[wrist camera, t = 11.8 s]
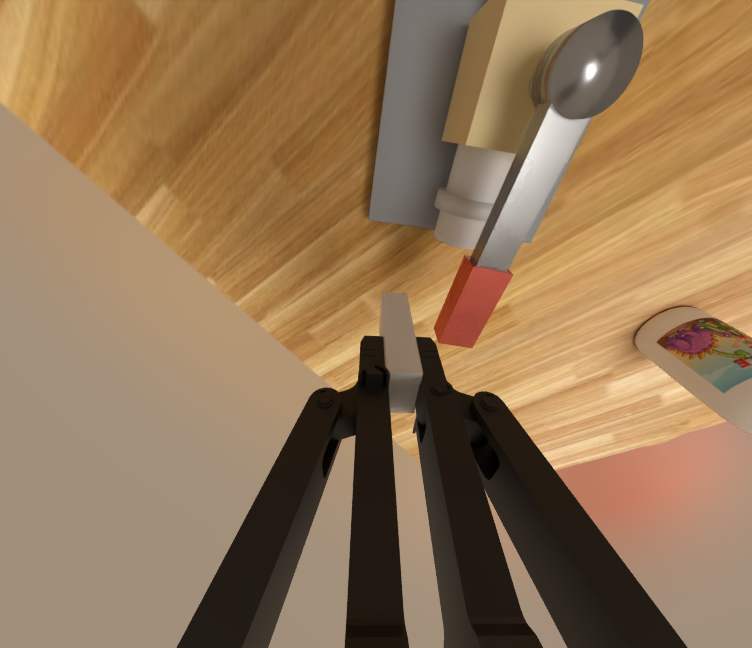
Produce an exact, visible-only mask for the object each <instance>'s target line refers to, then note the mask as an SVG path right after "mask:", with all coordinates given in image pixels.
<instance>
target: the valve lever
mask: <svg viewBox="0 0 752 648" xmlns="http://www.w3.org/2000/svg"><path fill="white" fill-rule="evenodd" d="M642 49H643V31H642V27H641V24H640V22H639V20H638V19H637V17H636V16H635V15H634V14H632V13H631V12H629V11H626V10H621V9H616V10H610V11H607V12H604V13H602V14H600V15H598V16H596V17H594V18H592V19H590V20H588V21H586V22H584V23H582V24H580V25H578V26H576V27H574V28H572V29H570V30H568V31H566V32H564V33H563V34H561V35H560V36H559V37H558V38H556V39H555V40H554V41H553V42H552V43H551V45H550V46H549V47H548V48H547V50H546V51H545V53H544V54H543V56H542V57H541V59H540V61H539V63H538V65H537V68H536V71H535V73H534V77H533V82H532V101H533V104H534V107H535V109H536V110H535V112H534V114H533V117H532V119H531V121H530V124H529V126H528V128H527V130H526V133H525V135H524V137H523V139H522V142H521V144H520V146H519V149H518V151H517V153H516V155H515V158H514V160H513V162H512V164H511V167H510V169H509V171H508V173H507V176H506V178H505V180H504V183H503V185H502V187H501V189H500V192H499V194H498V196H497V198H496V201H495V203H494V205H493V208H492V210H491V212H490V214H489V217H488V219H487V221H486V223H485V226H484V228H483V230H482V233H481V235H480V237H479V239H478V242H477V244H476V246H475V248H474V251H473V253H472V255H471V256H466V255H464V258H463V260H462V263H461V265H460V267H459V270H458V272H457V274H456V277H455V279H454V281H453V284H452V286H451V288H450V291H449V293H448V296H447V298H446V300H445V303H444V305H443V307H442V310H441V312H440V314H439V317H438V319H437V321H436V324H435V326H434V330H435V333H436V336H437V339H438V343H442V344H448V345H455V346H461V347H468V348H473V346H474V344H475V342H476V340H477V339H478V337H479V335H480V333H481V331H482V330H483V328H484V326H485V324H486V323H487V321H488V319H489V317H490V315H491V314H492V312H493V310H494V308H495V306H496V305H497V303H498V301H499V299H500V298H501V296H502V294H503V292H504V290H505V289H506V287H507V285H508V283H509V282H510V280H511V278H512V276H513V274H512V273H511V272H510V271H509V270H508V268H509V267H510V265H511V263H512V261H513V259H514V257H515V255H516V254H517V252H518V250H519V248H520V246H521V244H522V243H523V241H524V239H525V237H526V235H527V233H528V231H529V230H530V228H531V226H532V224H533V222H534V220H535V218H536V217H537V215H538V213H539V211H540V209H541V207H542V206H543V204H544V202H545V200H546V198H547V196H548V194H549V193H550V191H551V189H552V187H553V185H554V183H555V181H556V180H557V178H558V176H559V174H560V172H561V170H562V169H563V167H564V165H565V163H566V161H567V159H568V157H569V156H570V154H571V152H572V150H573V148H574V146H575V145H576V143H577V141H578V139H579V137H580V135H581V133H582V132H583V130H584V128H585V126H586V124H587V122H588V120H589V119H590V117H593V116H595V115H597V114H599V113H601V112H603V111H604V110H605V109H607V108H608V107H609V106H611V105H612V104H613V103H614V102H615V101H616V100H617V99H618V98H619V97H620V96H621V94H622V93H623V92H624V91H625V89H626V88H627V86H628V85H629V83H630V82H631V80H632V78H633V76H634V74H635V72H636V70H637V67H638V65H639V62H640V59H641V54H642Z"/></svg>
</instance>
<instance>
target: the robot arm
mask: <svg viewBox="0 0 752 648" xmlns="http://www.w3.org/2000/svg"><path fill="white" fill-rule="evenodd" d="M379 331H380V336H364V338H363V339H362V341H361V345H360V364H359V374H358V381H357V383H356V384H355V386H354V387H352V388H350V389H348V390H346V391H342V392H337V391H336V390H334V389H332V388H322V389H318V390H316V391H315V392H313V394H312V395H311V396H310V398H309V399H308V401H307V403H306V405H305V407H304V409H303V411H302V413H301V414H300V416H299V418H298V420H297V422H296V424H295V426H294V428H293V429H292V431H291V433H290V435H289V437H288V439H287V441H286V443H285V445H284V446H283V448H282V450H281V452H280V454H279V456H278V458H277V460H276V461H275V464H274V465H273V467H272V469H271V471H270V473H269V475H268V477H267V478H266V481H265V482H264V484H263V486H262V488H261V490H260V492H259V494H258V495H257V497H256V499H255V501H254V503H253V505H252V507H251V509H250V510H249V512H248V514H247V516H246V518H245V520H244V522H243V524H242V526H241V527H240V529H239V531H238V533H237V535H236V537H235V539H234V541H233V543H232V544H231V547H230V548H229V550H228V552H227V554H226V556H225V558H224V560H223V561H222V563H221V565H220V567H219V569H218V571H217V573H216V575H215V577H214V578H213V580H212V582H211V584H210V586H209V588H208V590H207V592H206V593H205V595H204V597H203V599H202V601H201V603H200V605H199V607H198V608H197V610H196V612H195V614H194V616H193V618H192V620H191V622H190V624H189V625H188V627H187V629H186V631H185V633H184V635H183V637H182V639H181V641H180V642H179V644H178V646H177V648H268V646H269V643H270V640H271V638H272V635H273V632H274V629H275V626H276V623H277V621H278V618H279V615H280V612H281V609H282V607H283V604H284V601H285V598H286V595H287V593H288V590H289V587H290V584H291V581H292V579H293V576H294V573H295V570H296V567H297V564H298V561H299V559H300V556H301V553H302V550H303V547H304V545H305V541H306V539H307V536H308V533H309V530H310V528H311V525H312V522H313V519H314V516H315V514H316V511H317V508H318V505H319V502H320V499H321V497H322V494H323V491H324V488H325V485H326V483H327V480H328V477H329V474H330V471H331V468H332V466H333V463H334V460H335V457H336V454H337V452H338V449H339V446H340V443H341V440H342V439H344V438H347V437H350V436H354V435H356V438H355V439H356V441H355V459H354V480H353V499H352V520H351V539H350V559H349V580H348V602H347V619H346V635H345V648H409V644H408V637H407V632H406V627H405V621H404V611H403V597H402V584H401V583H402V582H401V566H400V551H399V536H398V521H397V506H396V491H395V478H394V477H395V476H394V462H393V446H392V431H391V415H390V412H394V413H414V410H415V408H416V419H415V424H414V428H413V433H415V432H416V433H417V441H418V448H419V455H420V462H421V469H422V476H423V483H424V490H425V497H426V505H427V512H428V519H429V526H430V533H431V540H432V547H433V554H434V561H435V568H436V576H437V583H438V590H439V597H440V604H441V611H442V618H443V625H444V648H543V647H542V645H541V643H540V641H539V639H538V637H537V636H536V634H535V633H534V632H533V631H532V629H531V628H530V627H529V626H528V624H527V623H526V621H525V619H524V617H523V614H522V611H521V608H520V605H519V602H518V598H517V595H516V592H515V589H514V585H513V582H512V579H511V576H510V572H509V569H508V566H507V563H506V559H505V556H504V553H503V549H502V546H501V543H500V539H499V536H498V533H497V529H496V526H495V523H494V520H493V516H492V513H491V510H490V506H489V504H488V500H487V497H486V493H487V495H488V497H489V498H490V500H491V502H492V504H493V506H494V508H495V510H496V512H497V514H498V516H499V518H500V519H501V521H502V523H503V525H504V527H505V529H506V531H507V533H508V535H509V537H510V538H511V540H512V542H513V544H514V546H515V548H516V550H517V552H518V554H519V556H520V558H521V560H522V561H523V563H524V565H525V567H526V569H527V571H528V573H529V575H530V577H531V578H532V581H533V583H534V584H535V586H536V588H537V590H538V592H539V594H540V596H541V598H542V600H543V601H544V603H545V605H546V607H547V609H548V611H549V613H550V615H551V617H552V619H553V621H554V623H555V625H556V626H557V628H558V630H559V632H560V634H561V636H562V638H563V640H564V642H565V644H566V645H567V648H687V646H686V645H685V644H684V642H683V641H682V640H681V638H680V637H679V636H678V634H677V633H676V632H675V630H674V629H673V628H672V626H671V625H670V624H669V622H668V621H667V620H666V618H665V617H664V616H663V614H662V613H661V612H660V610H659V609H658V608H657V606H656V605H655V604H654V602H653V601H652V600H651V598H650V597H649V596H648V594H647V593H646V592H645V590H644V589H643V588H642V586H641V585H640V584H639V582H638V581H637V580H636V578H635V577H634V576H633V574H632V573H631V572H630V570H629V569H628V568H627V566H626V565H625V564H624V562H623V561H622V559H621V558H620V557H619V555H618V554H617V553H616V551H615V550H614V549H613V547H612V546H611V545H610V544H609V542H608V541H607V539H606V538H605V537H604V535H603V534H602V533H601V531H600V530H599V529H598V527H597V526H596V525H595V523H594V522H593V521H592V519H591V518H590V517H589V516H588V514H587V513H586V511H585V510H584V509H583V507H582V506H581V505H580V503H579V502H578V501H577V500H576V498H575V497H574V495H573V494H572V493H571V491H570V490H569V489H568V487H567V486H566V485H565V484H564V482H563V481H562V479H561V478H560V477H559V475H558V474H557V473H556V471H555V470H554V469H553V467H552V466H551V465H550V463H549V462H548V461H547V459H546V458H545V457H544V455H543V454H542V453H541V451H540V450H539V449H538V447H537V446H536V445H535V443H534V442H533V441H532V439H531V438H530V437H529V435H528V434H527V433H526V431H525V430H524V429H523V427H522V426H521V425H520V423H519V422H518V421H517V419H516V418H515V417H514V415H513V414H512V413H511V411H510V410H509V409H508V407H507V406H506V405H505V403H504V402H503V401H502V400H501V399H500V398H499V397H498V396H496V395H495V394H493V393H490V392H478V393H476V394H475V396H474V397H473V396H470V395H467V394H463V393H460V392H458V391H456V390H454V389H453V387H452V385H451V384H450V383H449V382H447V380H446V378H445V374H444V371H443V367H442V364H441V360H440V358H439V353H438V350H437V347H436V344H435V343H434V341H433V340H432V339H431V338H429V337H415V332H414V327H413V322H412V317H411V312H410V307H409V302H408V297H407V293H388V292H382V302H381V314H380V326H379ZM484 489H485V490H484ZM485 491H486V493H485Z"/></svg>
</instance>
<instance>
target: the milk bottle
mask: <svg viewBox="0 0 752 648" xmlns="http://www.w3.org/2000/svg"><path fill="white" fill-rule="evenodd" d="M635 344H636V347H637V349H638V350H639V351H641V352H642V353H643V354H644V355H645V356H646V357H648V358H649V359H650V360H651V361H652V362H654V363H655V364H656V365H657V366H658V367H660V368H661V369H662V370H663V371H665V372H666V373H667V374H668V375H669V376H671V377H672V378H673V379H674V380H676V381H677V382H678V383H679V384H680V385H682V386H683V387H684V388H685V389H687V390H688V391H689V392H690V393H692V394H693V395H694V396H695V397H696V398H698V399H699V400H700V401H701V402H703V403H704V404H705V405H706V406H708V407H709V408H710V409H712V410H713V411H714V412H716V413H717V414H718V415H720V416H721V417H722V418H723V419H725V420H726V421H728V422H730V423H731V424H732V425H734V426H736V427H738V428H739V429H741V430H743V431H745V432H747V433H749V434H751V435H752V338H751V337H750V336H748V335H746V334H744V333H742V332H740V331H739V330H737V329H735V328H733V327H731V326H730V325H728V324H726V323H724V322H722V321H720V320H719V319H717V318H715V317H713V316H711V315H709V314H708V313H706V312H704V311H702V310H700V309H697V308H693V307H677V308H673V309H670V310H667V311H664V312H662V313H660V314H658V315H656V316H655V317H653V318H652V319H650V320H649V321H648V322H646V323H645V324H644V325H643V326H642V327H641V328H640V330H639V331H638V333H637V335H636V337H635Z"/></svg>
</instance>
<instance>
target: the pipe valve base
mask: <svg viewBox="0 0 752 648" xmlns="http://www.w3.org/2000/svg"><path fill="white" fill-rule="evenodd" d="M649 1H650V0H395V3H394V12H393V20H392V28H391V36H390V44H389V52H388V60H387V68H386V77H385V85H384V93H383V101H382V109H381V117H380V125H379V133H378V142H377V150H376V158H375V166H374V174H373V182H372V190H371V198H370V207H369V220H372V221H379V222H386V223H393V224H400V225H407V226H414V227H421V228H428V229H434V230H435V232H434V237H435V238H436V239H437V240H439V241H441V242H443V243H445V244H448V245H451V246H454V247H458V248H463V249H473V250H474V248H475V246H476V244H477V242H478V239H479V237H480V235H481V233H482V230H483V228H484V226H485V223H486V221H487V219H488V217H489V214H490V212H491V210H492V208H493V205H494V203H495V201H496V198H497V196H498V194H499V192H500V189H501V187H502V185H503V183H504V180H505V178H506V176H507V173H508V171H509V169H510V167H511V164H512V162H513V160H514V158H515V155H516V153H517V151H518V149H519V146H520V144H521V142H522V139H523V137H524V135H525V133H526V130H527V128H528V126H529V124H530V121H531V119H532V117H533V114H534V112H535V110H536V109H535V107H534V104H533V101H532V82H533V77H534V73H535V71H536V68H537V65H538V63H539V61H540V59H541V57H542V56H543V54H544V53H545V51H546V50H547V48H548V47H549V46H550V45H551V43H552V42H553V41H554V40H555V39H556V38H558V37H559V36H560V35H561V34H563V33H564V32H566V31H568V30H570V29H572V28H574V27H576V26H578V25H580V24H582V23H584V22H586V21H588V20H590V19H592V18H594V17H596V16H598V15H600V14H602V13H604V12H607V11H610V10H616V9H621V10H626V11H629V12H631V13H632V14H634V15H635V16H636V17H637V19H638V20H639V21H640V19H641V17H642V15H643V13H644V11H645V9H646V7H647V5H648V3H649ZM591 119H592V117H590V119H589V120H588V122H587V124H586V126H585V128H584V130H583V132H582V133H581V135H580V137H579V139H578V141H577V143H576V145H575V146H574V148H573V150H572V152H571V154H570V156H569V157H568V159H567V161H566V163H565V165H564V167H563V169H562V170H561V172H560V174H559V176H558V178H557V180H556V181H555V183H554V185H553V187H552V189H551V191H550V193H549V194H548V196H547V198H546V200H545V202H544V204H543V206H542V207H541V209H540V211H539V213H538V215H537V217H536V218H535V220H534V222H533V224H532V226H531V228H530V230H529V231H528V233H527V235H526V237H525V239H524V241H523V242H525V243H531V241H532V239H533V237H534V235H535V233H536V231H537V229H538V227H539V225H540V223H541V220H542V218H543V216H544V214H545V212H546V210H547V208H548V206H549V204H550V202H551V200H552V198H553V196H554V194H555V192H556V190H557V188H558V186H559V184H560V182H561V180H562V178H563V176H564V174H565V172H566V170H567V168H568V166H569V164H570V162H571V159H572V157H573V155H574V153H575V151H576V149H577V147H578V145H579V143H580V141H581V139H582V137H583V135H584V133H585V131H586V129H587V127H588V125H589V123H590V121H591Z"/></svg>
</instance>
